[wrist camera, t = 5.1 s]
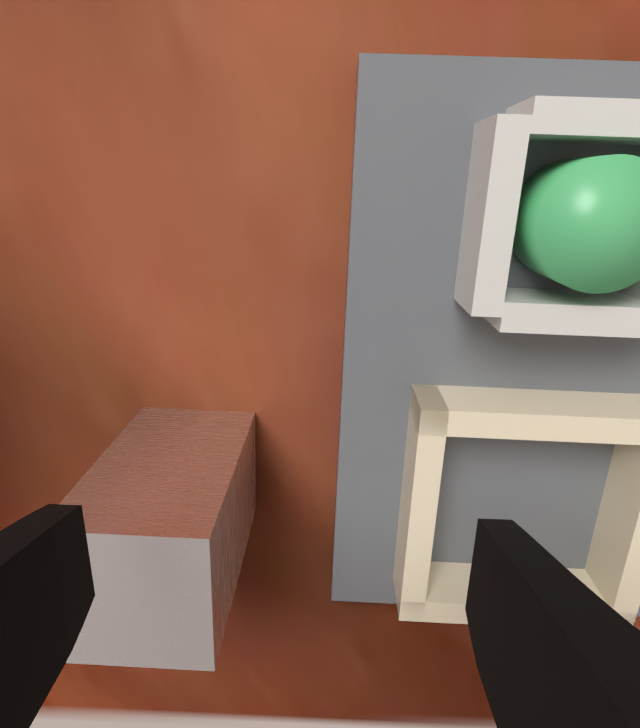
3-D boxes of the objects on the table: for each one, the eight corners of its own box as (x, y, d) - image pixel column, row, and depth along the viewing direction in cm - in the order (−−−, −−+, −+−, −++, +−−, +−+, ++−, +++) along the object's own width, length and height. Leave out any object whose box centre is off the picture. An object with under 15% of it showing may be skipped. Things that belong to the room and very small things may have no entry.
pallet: (331, 577, 21) (330, 650, 18) (357, 62, 15) (363, 29, 12) (637, 593, 20) (693, 669, 17) (788, 75, 15) (915, 46, 11)
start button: (499, 275, 15) (528, 291, 13) (517, 156, 14) (551, 151, 12) (611, 279, 15) (659, 296, 13) (637, 160, 14) (694, 156, 12)
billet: (151, 503, 20) (58, 662, 13) (143, 407, 19) (35, 530, 12) (255, 508, 20) (214, 671, 13) (255, 412, 19) (209, 539, 12)
